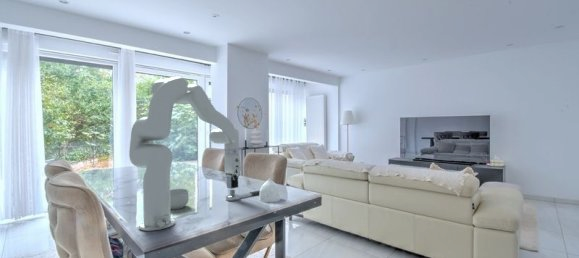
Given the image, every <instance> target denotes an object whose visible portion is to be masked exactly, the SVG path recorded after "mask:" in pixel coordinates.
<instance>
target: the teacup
mask: <svg viewBox="0 0 579 258" xmlns="http://www.w3.org/2000/svg"><path fill="white" fill-rule="evenodd" d="M188 202H189V189H186V188H173V189H170V210H179V209H182V208H184V207H185V206H186V205H188Z"/></svg>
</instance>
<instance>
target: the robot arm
mask: <svg viewBox="0 0 579 258" xmlns="http://www.w3.org/2000/svg"><path fill="white" fill-rule="evenodd" d="M151 94H152V96H151V98H150V100H149V103H148V104H149V106H148V112H147V116H146V117H145V116H144V117H141V118H138V119H137V120H135V122H134V123H133V125H132V127H131V131H130V142H129V151H128V152H129V153H128V154H129V160H130V163H131V164H132V165H133V166H134V167H137V168H139V169H140V168H141V169H145V172H144V174H143V178H142V194H143V195H142V197H143V198H142V199H143V202H142V203H143V206H142V207H143V208H142V209H143V221H142V222H140V224H139V225H138V229H139V230H140V231H148V232H150V231H151V232H152V231H153V232H154V231H160V230H164V229H168V228H170V227H172V226H174V225H175V224H176V220H175V219H174V218H173V217H171V214H172V213H171V209H170V190H171V168H172V162H173V152H172V150H171V149H170V147H168V146H167V145H164V144H161V143H160V144H159V143H154V141H156V142H157V141H159V142H160V141H164V140H167V139H169V136H170V135H171V130H172V129H171V128H172V115H173V108H174V104H176V105H177V104H179V105H190V106H191V107H192V110H193V111H194V113H195V114H196V115H197V117H198V118H199V120H201V121H203V122H204V123H206V124H207V123H208V124H210V125H212V126H215V127H217V128H215V129H212V130H211V131H210V133H209V140H210V141H211V142H212V143H214V144H220V145H221V144H224V145H223V146H224V148H223V149H224V161H223V162H224V165H223V167H224V169H223V170H224V173H225V176H226V179H227V174H232V178H233V180H232V189H236V188H235V187H238V188H239V177H240V176H241V173H242V164H241V157H240V148H239V147H240V140H239V139H240V138H239V136H240V134H239V133H240V132H239V129H238V128H235V126H234V124H233V123H232V121H231V120H230V119H229V118H228V117H226V116H225V115H224V114H223V113H222V112H220V111H218V110H217V109H216V108H215V107H214V104H213V103H212V102H211V100H210V98H209V96H208V95H207V94H206V92H205V90H204V88H203V87H202V86H201V85H198V84H189V82H188V80H187V79H185V78H184V77H180V76H176V77H174V76H173V77H169V78H164V79H158V80H155V81H154V82H153V83H152V85H151ZM234 175H235V177H234Z"/></svg>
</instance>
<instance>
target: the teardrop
mask: <svg viewBox="0 0 579 258" xmlns="http://www.w3.org/2000/svg"><path fill="white" fill-rule="evenodd" d="M259 190H260V193H259V195H258V196H259V197H258V200H259V201H260V202H263V203H275V202H278V201H280V200H281V194H280V193H281V192H280V191H281V190H280V188H279V186H278V184H277V183H275V182H274V181H273V180H272V179H271V177H268V179H267V180H266V181H265V182H264V183H262V185H261V187H260V189H259Z"/></svg>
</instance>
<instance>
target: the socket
mask: <svg viewBox="0 0 579 258" xmlns="http://www.w3.org/2000/svg"><path fill="white" fill-rule="evenodd" d="M226 177H227V178H226V188H228V189H230V190H233V188H232V180H233V178H232V174H227V176H226ZM234 177H235V175H234ZM236 188H237V189H239V186H238V187H235V188H234V189H236Z"/></svg>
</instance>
